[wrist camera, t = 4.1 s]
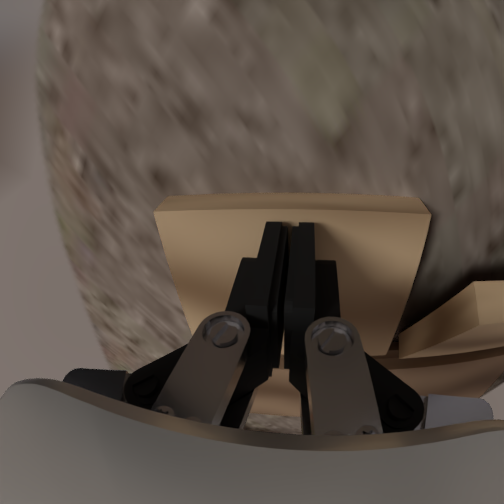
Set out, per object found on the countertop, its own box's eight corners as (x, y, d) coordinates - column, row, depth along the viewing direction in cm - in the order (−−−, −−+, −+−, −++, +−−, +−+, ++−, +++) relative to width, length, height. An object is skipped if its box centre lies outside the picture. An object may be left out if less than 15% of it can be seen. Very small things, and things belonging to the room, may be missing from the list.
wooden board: (198, 334, 16) (191, 352, 15) (519, 328, 12) (525, 343, 11) (220, 393, 21) (216, 408, 20) (473, 387, 17) (476, 400, 16)
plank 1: (168, 196, 11) (153, 211, 10) (418, 197, 10) (431, 214, 8) (203, 327, 16) (196, 346, 15) (382, 334, 14) (385, 355, 13)
